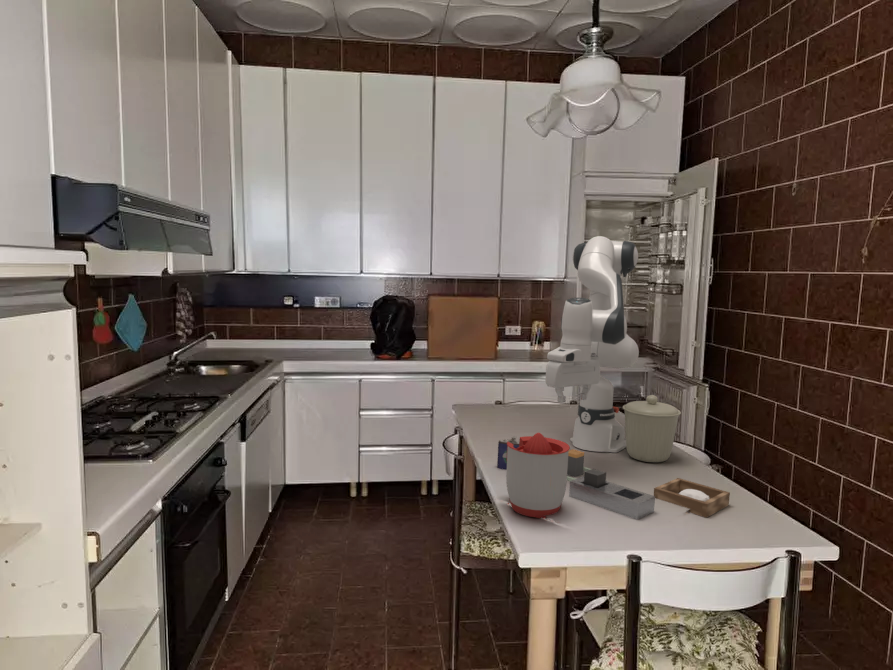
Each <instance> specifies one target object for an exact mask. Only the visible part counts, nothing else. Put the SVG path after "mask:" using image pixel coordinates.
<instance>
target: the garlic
mask: <svg viewBox="0 0 893 670" xmlns="http://www.w3.org/2000/svg"><path fill="white" fill-rule="evenodd" d="M678 494H681V495H684V496H687V497H691V498H694V499H697V500H701V501H704V502H705V501H707V500H709V499H710V498H709V496H707V495H706V494H705V493H703V492H701V491H699V490H694V489H685V490H683V491H681V492H678Z"/></svg>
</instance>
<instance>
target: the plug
mask: <svg viewBox="0 0 893 670" xmlns="http://www.w3.org/2000/svg"><path fill="white" fill-rule="evenodd" d="M584 463H585V452H584V451H581V450H577V449H575V448H573V449H570V450H569V451H568V469H567V476H569V477H572V478H577V477H579V476H580V477H581V476H584V471H583V467H585V466H584V465H585V464H584Z"/></svg>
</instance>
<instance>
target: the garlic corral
mask: <svg viewBox="0 0 893 670" xmlns="http://www.w3.org/2000/svg"><path fill="white" fill-rule="evenodd" d="M685 489H694V490H699V491H701V492H703V493H705V494H706V495H707V496H709V498H710V499H709V500H707V501H705V502H704V501H701V500H697V499H694V498H691V497H687V496H684V495H681V494H679V493H680V492H681V491H683V490H685ZM730 495H731V492H730V491H727V490H723V489H719V488H715V487H711V486H708V485H704V484H700V483H697V482H694V481H691V480H686V479H684V478H680V477H676V478H674V479H672V480H670V481H668V482H665V483H663V484H661V485H658V486H655V487H653V496H655V499H657V500H661V501H664V502H667V503H670V504H673V505H675V506H679V507H682V508H686V509H687V510H686V512H687V513H690V514H693V515H697V516H699V517H702V518H705V519H706V518H709V517H710V516H712V515H714V514H716V513H717V512H719V511H721V510H723V509H725V508H726V507H728V506H729V505H730Z"/></svg>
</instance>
